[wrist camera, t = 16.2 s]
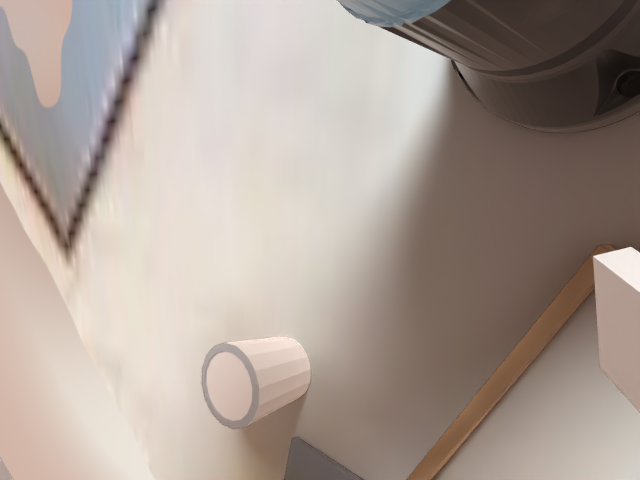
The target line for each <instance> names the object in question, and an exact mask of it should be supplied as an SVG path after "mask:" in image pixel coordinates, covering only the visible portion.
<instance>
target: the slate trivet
mask: <svg viewBox="0 0 640 480" xmlns="http://www.w3.org/2000/svg"><path fill="white" fill-rule="evenodd" d="M284 480H363V479H361V478H360V477H358V476H357V475H355V474H354V473H352V472H350V471H349V470H347V469H346V468H344V467H343V466H341V465H340V464H338V463H337V462H335V461H333V460H332V459H330V458H329V457H327V456H326V455H324V454H323V453H321V452H320V451H318V450H316V449H315V448H313V447H312V446H310V445H309V444H307V443H306V442H304V441H302V440H301V439H299V438H298V437H295V438H292V441H291V446H290V451H289V456H288V462H287V467H286V472H285V477H284Z"/></svg>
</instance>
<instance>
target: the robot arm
mask: <svg viewBox="0 0 640 480" xmlns="http://www.w3.org/2000/svg"><path fill="white" fill-rule="evenodd" d="M337 1H338V2H340V4H341V5H342V6H343V7H344V8H345V9H346V10H347V11H348V12H349V13H351V14H352V15H353V16H354V17H356V18H358V19H362V20H364V21H365V22H366V23H369V24H372V25H376V26H378V27H381V28H383V29H385V30H387V31H390V32H392V33H394V34H396V35H398V36H401V37H403V38H405V39H407V40H409V41H412V42H414V43H416V44H418V45H420V46H423V47H425V48H427V49H429V50H431V51H434V52H436V53H438V54H440V55H442V56H445V57H447V58H449V59H451V61H452V64H453V66H454V69H455V71H456V73H457V75H458V77H459V79H460V80H461V82H462V84H463V85H464V86H465V88H466V89H467V90H468V92H469V93H470V94H471V95H472V96H473V97H474V98H475V99H476V100H477V101H478V102H479V103H480V104H481V105H483V106H484V107H485V108H486V109H488V110H489V111H491V112H492V113H494V114H495V115H497V116H499V117H501V118H503V119H505V120H508V121H510V122H513V123H515V124H518V125H521V126H523V127H526V128H530V129H534V130H538V131H544V132H555V133H568V132H579V131H586V130H591V129H596V128H600V127H603V126H606V125H609V124H613V123H615V122H618V121H620V120H623V119H625V118H627V117H629V116H631V115H633V114H635V113H637V112H639V111H640V0H337ZM593 265H594V281H595V297H596V313H597V329H598V344H599V360H600V369H601V370H602V371H603V372H604V373H605V374H606V375H607V377H608V378H609V379H610V380H611V381H612V382H613V383H614V384H615V386H616V387H617V388H618V389H619V390H620V391H621V392H622V393H623V394H624V396H625V397H626V398H627V399H628V400H629V401H630V402H631V403H632V404H633V406H634V407H635V408H636V409H637V410H638V411H639V412H640V252H638V251H637V250H635V249H633V248H632V247H628V248H624V249H620V250H616V251H612V252H608V253H604V254H599V255H595V256H593ZM0 480H14V479H13V478H12V476H11V474H10V473H9V471H8V469H7V468H6V466H5V464H4V463H3V461H2V459H1V458H0Z"/></svg>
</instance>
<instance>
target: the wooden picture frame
mask: <svg viewBox="0 0 640 480" xmlns="http://www.w3.org/2000/svg"><path fill="white" fill-rule="evenodd" d="M612 251H616V249H615V248H614V247H612V246H611V245H609V244H605V245H599V246H598V247H597V248H596V249H595V250H594V252H593V253H592V254H591V255H590V257H589V258H588V259H587V260H586V261H585V263H584V264H583V265H582V266H581V267H580V269H579V270H578V271H577V272H576V274H575V275H574V276H573V277H572V278H571V280H570V281H569V282H568V283H567V285H566V286H565V287H564V288H563V289H562V291H561V292H560V293H559V294H558V295H557V297H556V298H555V299H554V300H553V302H552V303H551V304H550V305H549V306H548V308H547V309H546V310H545V311H544V313H543V314H542V315H541V316H540V317H539V319H538V320H537V321H536V322H535V323H534V325H533V326H532V327H531V328H530V330H529V331H528V332H527V333H526V334H525V336H524V337H523V338H522V339H521V341H520V342H519V343H518V344H517V345H516V347H515V348H514V349H513V350H512V351H511V353H510V354H509V355H508V356H507V358H506V359H505V360H504V361H503V362H502V364H501V365H500V366H499V367H498V369H497V370H496V371H495V372H494V373H493V375H492V376H491V377H490V378H489V379H488V381H487V382H486V383H485V384H484V386H483V387H482V388H481V389H480V390H479V392H478V393H477V394H476V395H475V397H474V398H473V399H472V400H471V401H470V403H469V404H468V405H467V406H466V407H465V409H464V410H463V411H462V412H461V414H460V415H459V416H458V417H457V418H456V420H455V421H454V422H453V423H452V425H451V426H450V427H449V428H448V429H447V431H446V432H445V433H444V434H443V435H442V437H441V438H440V439H439V440H438V442H437V443H436V444H435V445H434V446H433V448H432V449H431V450H430V451H429V453H428V454H427V455H426V456H425V457H424V459H423V460H422V461H421V462H420V463H419V465H418V466H417V467H416V468H415V470H414V471H413V472H412V473H411V474H410V476H409V477H408V478H407V479H406V480H432V479H433V478H434V476H435V475H436V474H437V473H438V472H439V471H440V469H441V468H442V467H443V466H444V465H445V464H446V462H447V461H448V460H449V459H450V458H451V456H452V455H453V454H454V453H455V452H456V451H457V449H458V448H459V447H460V446H461V445H462V444H463V442H464V441H465V440H466V439H467V438H468V436H469V435H470V434H471V433H472V432H473V431H474V429H475V428H476V427H477V426H478V425H479V424H480V422H481V421H482V420H483V419H484V418H485V417H486V415H487V414H488V413H489V412H490V411H491V409H492V408H493V407H494V406H495V405H496V404H497V402H498V401H499V400H500V399H501V398H502V397H503V395H504V394H505V393H506V392H507V391H508V389H509V388H510V387H511V386H512V385H513V384H514V382H515V381H516V380H517V379H518V378H519V377H520V375H521V374H522V373H523V372H524V371H525V369H526V368H527V367H528V366H529V365H530V364H531V362H532V361H533V360H534V359H535V358H536V357H537V355H538V354H539V353H540V352H541V351H542V350H543V348H544V347H545V346H546V345H547V344H548V342H549V341H550V340H551V339H552V338H553V337H554V335H555V334H556V333H557V332H558V331H559V330H560V328H561V327H562V326H563V325H564V324H565V322H566V321H567V320H568V319H569V318H570V317H571V315H572V314H573V313H574V312H575V311H576V310H577V308H578V307H579V306H580V305H581V304H582V302H583V301H584V300H585V299H586V298H587V297H588V295H589V294H590V293H591V292H592V291H593V290H594V288H595V281H594V265H593V256H595V255H599V254H604V253H608V252H612Z"/></svg>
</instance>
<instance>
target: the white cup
mask: <svg viewBox="0 0 640 480" xmlns="http://www.w3.org/2000/svg"><path fill="white" fill-rule="evenodd" d="M310 381H311V367H310V363H309V359H308V356H307V354H306V352H305V351H304V349H303V347H302V346H301V345H300V344H299V343H298V342H296V341H295V340H294V339H292V338H289V337H285V336H282V337H272V338H263V339H254V340H245V341H235V342H226V343H222V344H219V345H215V346H214V347H213V348H212V349H211V350H210V351H209V352H208V354H207V355H206V358H205V361H204V364H203V367H202V388H203V393H204V397H205V401H206V403H207V405H208V407H209V409H210V411H211V413H212V414H213V415H214V416H215V417H216V419H217V420H218V421H219V422H220V423H221V424H222V425H225V426H227V427H229V428H231V429H238V428H244V427H246V426H248V425H250V424H252V423H254V422H256V421H257V420H259V419H261V418H263V417H265V416H267V415H269V414H270V413H272V412H274V411H276V410H278V409H280V408H281V407H283V406H285V405H287V404H289V403H291V402H293V401H294V400H296V399H298V398H300V397H301V396H302V395H303V394H304V393H305V392H306V391H307V389H308V386H309V384H310Z"/></svg>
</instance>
